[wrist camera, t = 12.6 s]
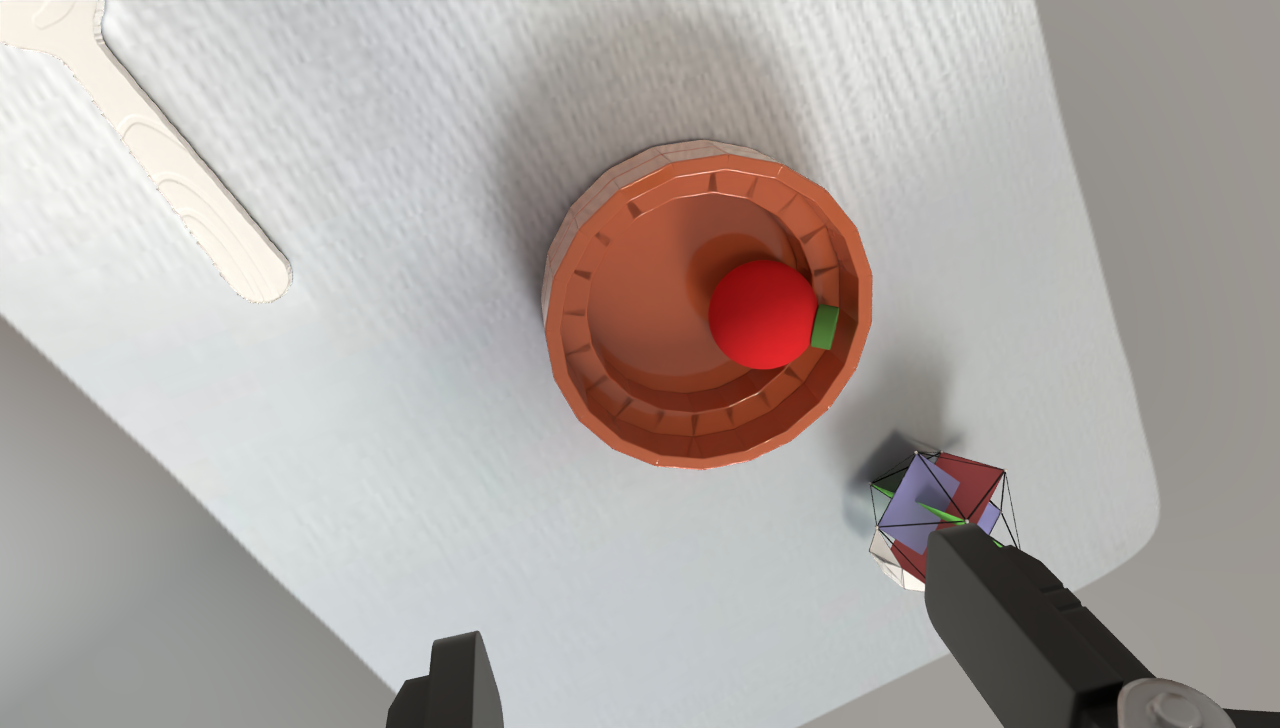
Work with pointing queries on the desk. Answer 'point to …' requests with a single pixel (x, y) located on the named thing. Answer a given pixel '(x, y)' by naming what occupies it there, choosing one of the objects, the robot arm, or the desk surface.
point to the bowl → (695, 303)
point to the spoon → (152, 142)
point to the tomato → (768, 315)
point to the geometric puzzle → (933, 511)
